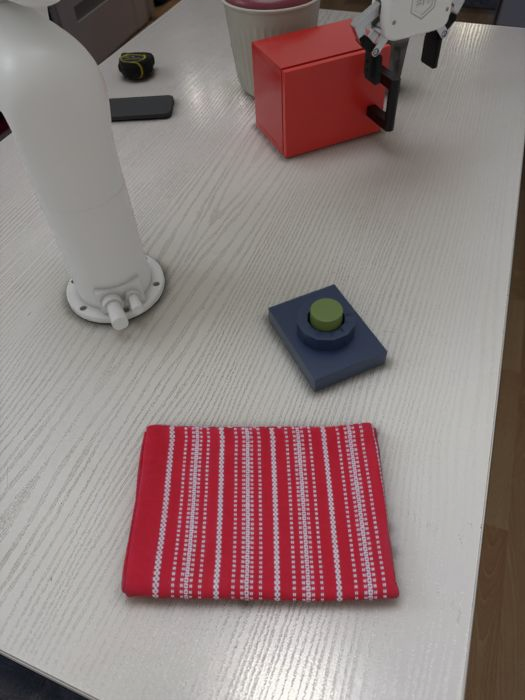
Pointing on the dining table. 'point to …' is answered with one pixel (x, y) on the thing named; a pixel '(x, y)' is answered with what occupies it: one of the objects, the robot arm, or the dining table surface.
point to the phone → (141, 107)
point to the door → (335, 102)
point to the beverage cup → (397, 56)
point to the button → (326, 315)
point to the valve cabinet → (288, 54)
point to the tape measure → (136, 64)
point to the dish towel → (260, 515)
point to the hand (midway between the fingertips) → (400, 73)
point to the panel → (326, 340)
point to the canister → (263, 27)
